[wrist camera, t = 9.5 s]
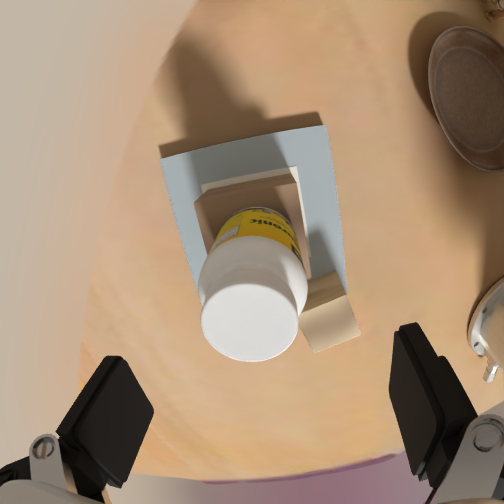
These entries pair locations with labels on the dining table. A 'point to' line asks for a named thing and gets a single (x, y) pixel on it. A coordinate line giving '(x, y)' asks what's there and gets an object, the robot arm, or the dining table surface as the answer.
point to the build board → (257, 167)
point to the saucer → (470, 94)
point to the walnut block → (252, 195)
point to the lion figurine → (502, 2)
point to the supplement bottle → (253, 286)
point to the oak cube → (327, 314)
